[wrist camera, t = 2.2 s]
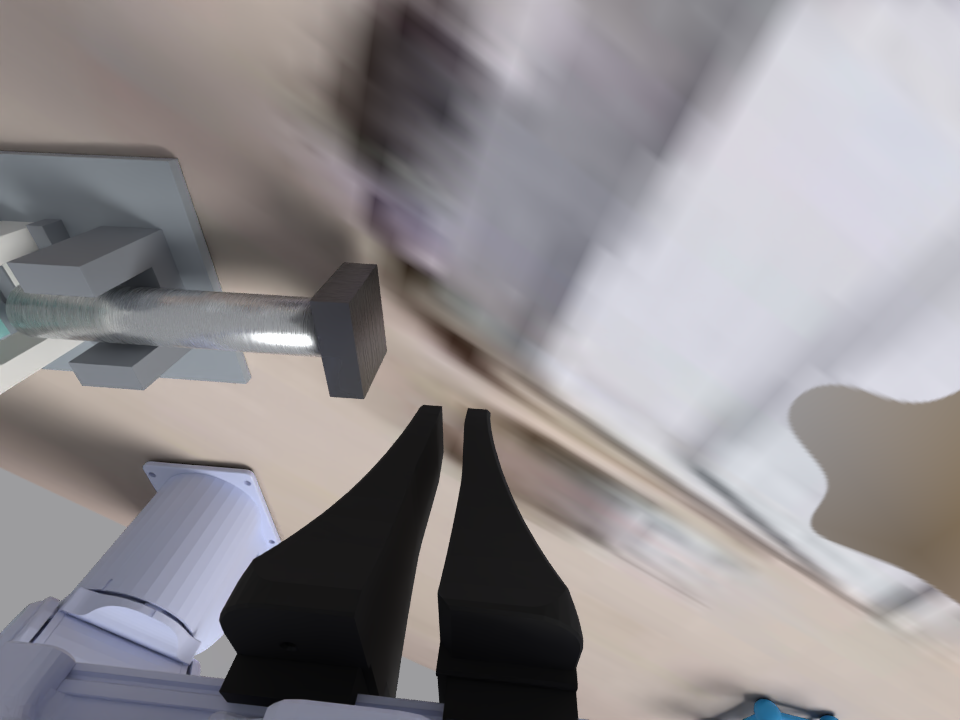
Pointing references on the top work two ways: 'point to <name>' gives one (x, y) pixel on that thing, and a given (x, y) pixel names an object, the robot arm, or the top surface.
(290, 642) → the robot arm
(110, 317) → the shaft
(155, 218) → the jig
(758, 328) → the top surface
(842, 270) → the top surface
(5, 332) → the frame
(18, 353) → the spacer
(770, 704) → the molecular structure
